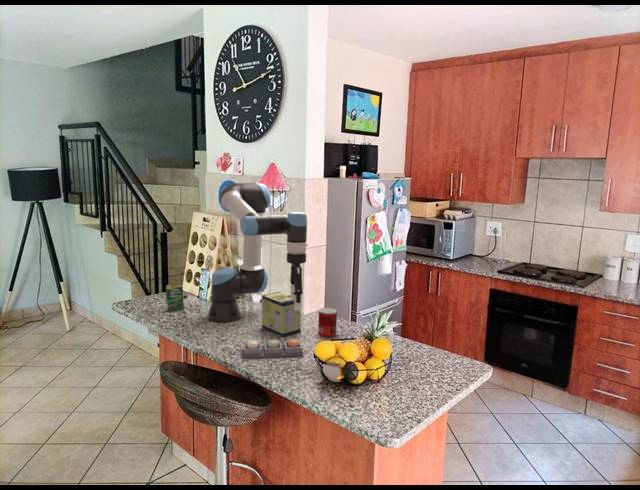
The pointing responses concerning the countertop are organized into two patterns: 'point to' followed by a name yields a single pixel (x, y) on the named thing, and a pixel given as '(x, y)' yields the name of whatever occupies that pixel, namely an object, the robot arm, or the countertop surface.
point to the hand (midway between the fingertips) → (295, 305)
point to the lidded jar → (332, 370)
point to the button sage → (273, 344)
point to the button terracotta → (293, 343)
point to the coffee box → (174, 297)
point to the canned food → (327, 322)
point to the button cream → (252, 344)
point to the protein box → (280, 314)
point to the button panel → (273, 351)
